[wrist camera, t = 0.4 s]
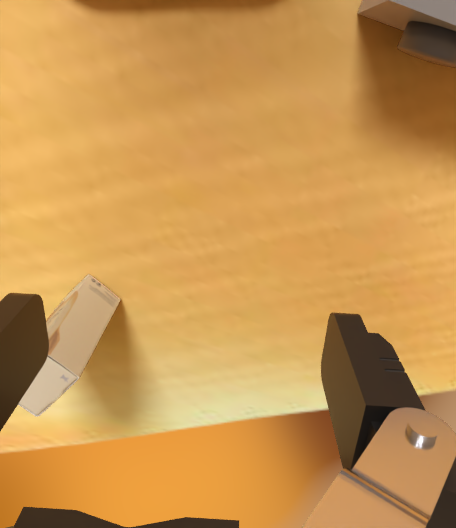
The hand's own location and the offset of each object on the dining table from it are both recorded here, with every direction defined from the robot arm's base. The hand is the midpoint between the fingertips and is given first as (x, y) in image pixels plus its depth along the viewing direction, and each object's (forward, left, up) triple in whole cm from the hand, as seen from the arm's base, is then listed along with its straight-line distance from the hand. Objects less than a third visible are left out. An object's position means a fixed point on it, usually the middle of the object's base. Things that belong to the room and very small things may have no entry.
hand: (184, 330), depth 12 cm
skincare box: (+15, -15, -29) cm, 36 cm away
